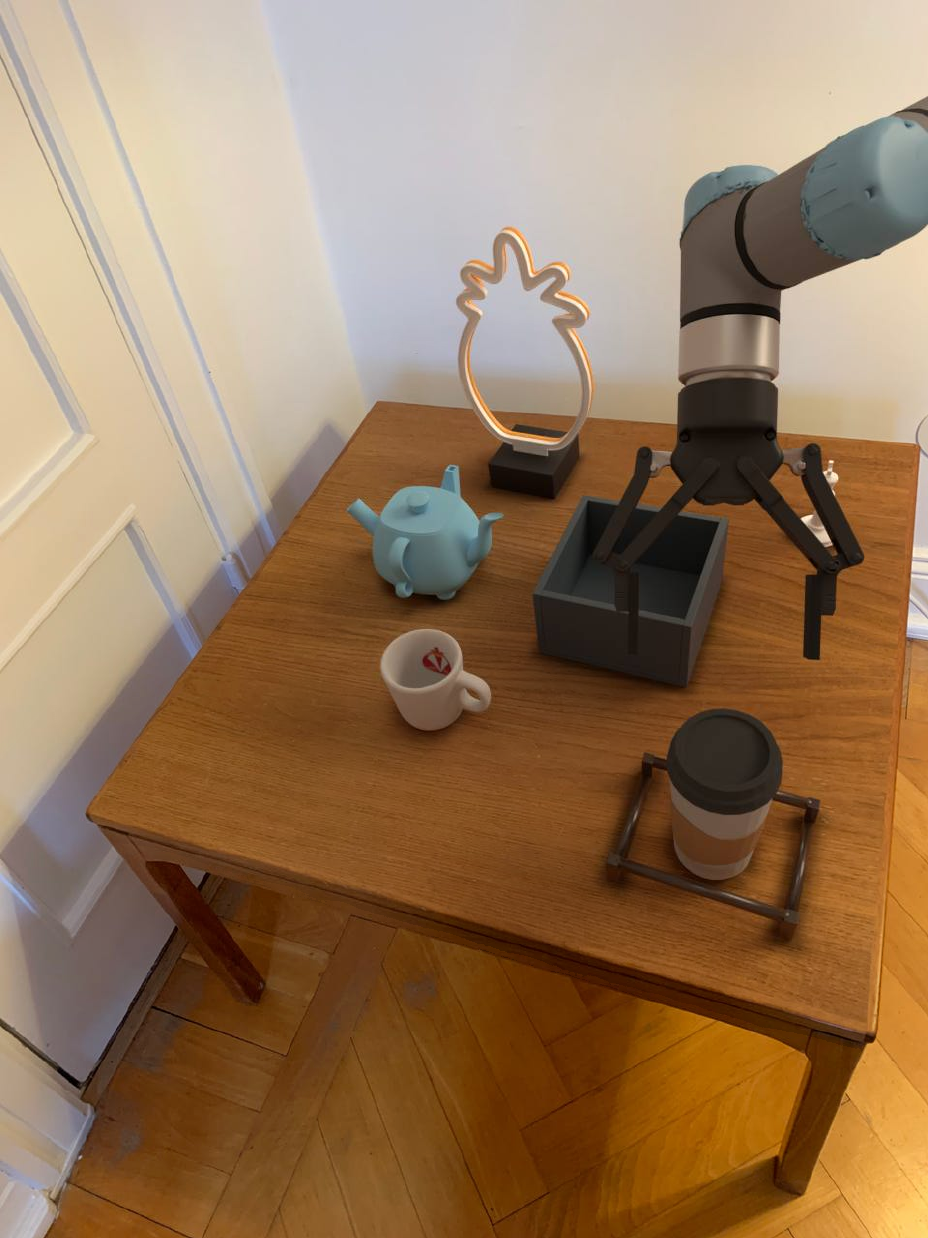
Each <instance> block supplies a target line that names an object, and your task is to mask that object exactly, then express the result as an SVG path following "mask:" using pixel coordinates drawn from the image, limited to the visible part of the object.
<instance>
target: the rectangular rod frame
mask: <svg viewBox="0 0 928 1238" xmlns="http://www.w3.org/2000/svg"><path fill="white" fill-rule="evenodd" d="M666 760H667V758H663V757H660V756H656V754H653V753H650V752H646V751H645V752H644V753H643V756H642V759H641V772H640V773H641V774H640V778H639V781H638V783H637V787H636V790H635V792H634V796H633V797H632V798H633V799H632V801H631V804H630V807H629V810H628V813H627V815H626V819H625V821H624V824H623V827H622V830H621V833H620V836H619V838H618V841H617V845H616V848H615V850H614V853H613V852H611V851H610V852H609V853H608V856H607V859H606V861H605V862H606V863H605V864H606V865H605V867H606V869H605V871H606V879H607V880H608V881H612V882H615V883H619V881H620V878H621V875H622V872H625V873H628V874H631V875H634V876H637V877H640V878H644V879H647V880H649V881H652V882H656V883H659V884H663V885H666V886H668V887H671V888H674V889H677V890H680V891H684V892H687V893H690V894H693V895H696V896H699V897H702V898H705V899H708V900H711V901H714V902H718V903H720V904H724V905H727V906H729V907H732V908H736V909H738V910H741V911H744V912H748V913H750V914H754V915H757V916H760V917H763V918H765V919H770V920H773V921H774V922H775V921H776V922H778V923H781V924H780V928H779V933H778V937H780V938H784V939H787V940H789V941H793V938H794V936H795V933H796V930H797V927H798V924H799V918H800V912H799V909H800V904H801V903H800V902H801V898H802V893H803V889H804V883H805V877H806V873H807V867H808V862H809V858H810V857H809V856H810V853H811V852H810V851H811V847H812V841H813V836H814V831H815V830H814V829H815V825H816V822H817V820H818V819H817V818H818V816H819V812H820V808H821V803H822V800H821V799H818V798H815V797H811V796H808V797H806V796H803V795H799V794H795V793H792V792H788V791H784V790H780V789H778V791H777V794H776V795H775V796H774V797H773V799H772V801H773V802H776V803H780V804H784V805H788V806H791V807H795V808H798V809H802V810H804V812H803V815H802V819H801V825H800V831H799V836H798V841H797V845H796V851H795V856H794V861H793V866H792V870H791V875H790V880H789V885H788V890H787V895H786V900H785V905H784V908H781V907H778V906H774V905H772V904H768V903H766V902H763V901H759V900H756V899H753V898H749V897H746V896H743V895H740V894H737V893H734V892H731V891H728V890H724V889H722V888H719V887H716V886H712V885H710V884H706V883H703V882H701V881H700V882H699V881H697V880H693V879H691V878H688V877H684V876H681V875H678V874H675V873H672V872H669V871H665V870H663V869H659V868H655V867H653V866H650V865H647V864H644V863H641V862H637V861H634V860H631V859H628V858H627V856H628V852H629V850H630V846H631V844H632V840H633V837H634V834H635V831H636V828H637V826H638V822H639V820H640V817H641V813H642V811H643V807H644V804H645V801H646V799H647V795H648V792H649V790H650V787H651V784H652V782H653V780H654V777H655V774H656V769H657V770H661V771H664V772H667V764H666Z"/></svg>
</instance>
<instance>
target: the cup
mask: <svg viewBox="0 0 928 1238" xmlns="http://www.w3.org/2000/svg"><path fill="white" fill-rule="evenodd" d="M463 659H464V657H463V652H462V648H461V646H460V645H459V643H458V641H457V640H456V639H455V638H454V637H453V636H451V634H449V633H447V632H444V631H441V630H439V629H433V628H421V629H419V628H418V629H414V630H410V631H408V632H406V633H403V634H401V635H399V636H398V637H396V638H395V639H394V640H392V641H391V643H389V644H388V646H387V647H386V648H385V649H384V651H383V653H382V655H381V658H380V662H379V670H380V671H379V672H380V674H381V677H382V680H383V682H384V683H385V686H386V687H387V690H388V692H389V694H390V695H391V697H392V700H393V701H394V703H395V705H396V708H397V709H398V711H399V712H400V714H401V716H402V718H403V719H404V720H405V722H407V723H408V724H409V725H410V726H412V727H413V728H416V729H419V730H421V731H422V730H423V731H429V732H430V731H437V730H441V729H445V728H446V727H448V726H450V725H452V724H453V723H454V722H455V721H457V719H458V718H459V716H460V715H461V714H462V712H463V710H467V711H470V712H474V713H482V712H485V711H486V710H487V709H488V707H489V705H490V704H491V701H492V691H491V689H490V686H489V685H488V683H487V682H486V681H485V680H484V679H482V678H481V677H479V676H477V675H474V674H472V673H469V672H467V671H465V670H464V660H463ZM467 689H468V690H471V691H473V692H475V693H476V694H477V696H479V698H480V699H477V698H475V697H473V696H471V694H470V693H469V692H468V690H467Z"/></svg>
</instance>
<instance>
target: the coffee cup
mask: <svg viewBox="0 0 928 1238" xmlns="http://www.w3.org/2000/svg"><path fill="white" fill-rule="evenodd" d="M666 759H667V760H666V764H667V771H666V772H667V776H668V777H669V786H670V787H669V788H670V789H669V803H670V805H669V806H670V819H671V820H670V821H671V831H672V835H673V847H674V852H675V854H676V856H677V858H678V860H679V861H680V863H681V864H682V865H683V866H684V867H685V869H687V870H689V872H691V873H692V874H694V875H695V876H698V877H700V878H702V879H705V880H710V881H724V880H727V879H728V880H729V879H731V878H734V877H736V876H738V875H740V874H741V873H742V872H743V871H744V870H745V869H746V868H747V867H748V865H749V863H750V861H751V859H752V856H753V854H754V851H755V848H756V846H757V844H758V842H759V839H760V837H761V834H762V832H763V830H764V829H763V828H764V826H765V824H766V821H767V818H768V815H769V813H770V807H771V804H772V801H773V800H772V799H773V797H774V796H775V795H776V794H777V791H778V790H780V788H781V785H782V782H783V774H784V773H783V772H784V770H783V767H784V766H783V765H784V760H783V756H782V752H781V748H780V747H779V745H778V743H777V740H776V738H775V736H774V735H773V733H772V731H771V730H770V729H769V728H768V727H767V726H766V725H765V724H764V723H763V722H762V721H761V720H759V719H757V718H756V717H754V716H753V715H751V714H749V713H746V712H744V711H741V710H738V709H731V708H710V709H706V710H702V711H699V712H698V713H696V714H694V715H692V716H690V717H688V719H686V720H685V721H684V722H683V724H681V726H680V727H679V728H677V730H676V731H675V733H674V735H673V736H672V738H671V740H670V743H669V747H668V749H667V756H666Z"/></svg>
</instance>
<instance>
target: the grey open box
mask: <svg viewBox="0 0 928 1238" xmlns="http://www.w3.org/2000/svg"><path fill="white" fill-rule="evenodd" d="M619 502H620V500H617V499H610V498H606V497H605V498H603V497H598V496H593V495H586V494H582V496H581V497H580V500H579V502H578V504H577V506H576V508H575V509H574V511H573V513H572V515H571V517H570V518H569V521H568V523H567V525H566V527H565V529H564V531H563V533H562V535H561V537H560V539H559V540H558V542H557V544H556V546H555V548H554V550H553V552H552V554H551V556H550V558H549V560H548V562H547V563H546V566H545V568H544V570H543V572H542V573H541V575H540V577H539V579H538V581H537V583H536V585H535V588H534V589H533V591H532V593H531V595H532V603H533V612H534V620H535V621H534V622H535V628H536V629H535V630H536V637H537V646H538V653H539V654H544V655H547V656H552V657H557V658H561V659H564V660H567V661H568V660H569V661H573V662H577V663H581V664H586V665H588V666H589V665H590V666H594V667H598V668H602V669H606V670H611V671H615V672H619V673H623V674H627V675H630V676H631V675H632V676H635V677H640V678H645V679H648V680H653V681H655V682H656V681H657V682H661V683H665V684H669V685H673V686H677V687H682V688H688V685H689V682H690V679H691V676H692V673H693V670H694V667H695V664H696V661H697V659H698V655H699V653H700V649H701V646H702V643H703V640H704V637H705V634H706V630H707V628H708V625H709V622H710V620H711V619H710V618H711V615H712V613H713V609H714V607H715V603H716V601H717V598H718V594H719V592H720V588H721V586H722V582H723V576H724V568H725V567H724V566H725V560H726V550H727V542H728V531H729V523H730V519H729V518H728V517H720V516H715V515H710V514H704V513H698V512H697V513H696V512H690V511H684V510H681V511H680V513H679V514H678V515H677V516H676V517H675V518H674V519H673V520H672V522H671V523H670V524H669V525H668V526H667V527H666V528H665V529H664V531H663V532H662V533H661V534H660V535H659V536H658V537H657V538H656V540H655V541H654V542H653V543H652V544H651V545H650V546H649V547H648V549H647V550H646V551H645V552H644V553H643V554H642V555H641V556H640V558H639V559H638V560H637V561H636V562H635V563H634V564H633V565H632V567H631V572H632V573H640V574H639V619H638V654H637V655H635V654H628V622H629V612H622V611H616V608H615V605H614V599H615V573H614V571H613V570H612V569H611V568H610V567H608V566H605V565H602V564H600V563H597V562H596V561H594V559H593V552H594V550H595V548H596V546H597V544H598V542H599V540H600V538H601V537H602V535H603V533H604V531H605V529H606V527H607V525H608V523H609V521H610V519H611V517H612V516H613V514H614V512H615V510H616V508H617V506H618V504H619ZM661 509H662V507H659V506H654V505H648V504H640V503H638V504H637V506H636V508H635V510H634V512H633V513H632V515H631V517H630V519H629V521H628V523H627V525H626V527H625V529H624V530H623V532H622V534H621V536H620V538H619V540H618V542H617V544H616V546H615V548H614V549H613V551H612V552H613V553H616V554H619V555H621V554H622V553H623V552H624V550H625V549H626V548H627V547H628V546H629V545H630V544H631V542H632V541H633V540H634V539H635V538H636V537H637V536H638V535H639V533H640V532H641V531H642V530H643V529H644V528H645V527H646V526H647V524H648V523H649V522H650V521H651V520H652V519H653V518H654V516H655V515H656V514H657V513H658V512H659V511H660V510H661Z"/></svg>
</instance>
